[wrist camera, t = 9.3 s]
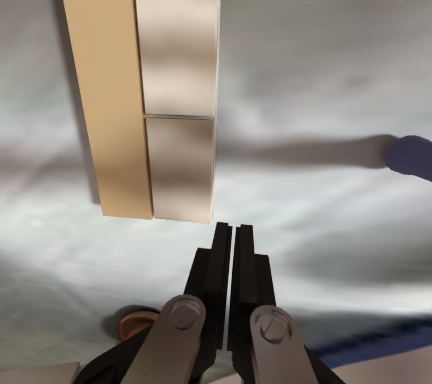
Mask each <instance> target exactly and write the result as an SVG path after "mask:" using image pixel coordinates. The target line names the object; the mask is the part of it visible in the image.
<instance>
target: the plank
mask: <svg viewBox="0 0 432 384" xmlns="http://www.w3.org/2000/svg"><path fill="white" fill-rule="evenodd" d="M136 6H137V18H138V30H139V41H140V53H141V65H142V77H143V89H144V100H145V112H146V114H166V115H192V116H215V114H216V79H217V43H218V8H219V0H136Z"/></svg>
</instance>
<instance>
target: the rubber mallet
mask: <svg viewBox="0 0 432 384" xmlns="http://www.w3.org/2000/svg"><path fill="white" fill-rule="evenodd" d="M384 157H385V161H386V165H387V166H388V167H389V168H390V169H391V170H393V171H396V172H399V173H401V174H407V175H415V176H418V177H420V178H423V179H426V180H428V181H431V182H432V142H431V141H430V140H428V139H425V138H422V137H419V136H415V135H412V136H405V137H402V138H400V139H398V140H396V141H394V142H392V143H391V144H390V145H389V146H388V147H387V148H386V151H385V153H384Z"/></svg>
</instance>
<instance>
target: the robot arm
mask: <svg viewBox="0 0 432 384" xmlns="http://www.w3.org/2000/svg"><path fill="white" fill-rule="evenodd" d="M232 227H233V226H228V223H223V222H217V225H216V229H215V234H214V239H213V243H212V248H211V249H205V248H198V249H197V251H196V254H195V258H194V261H193V264H192V267H191V271H190V274H189V277H188V280H187V283H186V287H185V290H184V293H183V295H178V296H176V297H174V298H172V299H171V300H169V301H168V302H167V303H166V304H165V306H164V307H163V309H162V311H161V312H160V314H159V316H158V318H157V319H156V321H155V322H154V323H153V324H151V325H150V326H148V327H146V328H145V329H143V330H141V331H140V332H138V333H136V334H135V335H133V336H131V337H130V338H128V339H126V340H125V341H123V342H121V343H120V344H118V345H116V346H115V347H113V348H112V349H110V350H108V351H107V352H105V353H103V354H102V355H100V356H98V357H97V358H95V359H94V360H92V361H91V362H90V363H88V364H86V365H80V364H79V362H73V363H64V364H55V365H46V366H37V367H28V368H19V369H12V370H8V371H5V372H2V373H0V384H202V381H203V377H204V372H205V371H206V370H207V369H208V368H209V367H211V366H212V365H213V364H214V362H215V359H216V350H217V349H220V350H222V345H223V334H224V322H225V311H226V299H227V287H228V276H229V264H230V252H231V240H232ZM227 351H232V362H233V367H234V369H235V370H236V371H237V373H238V374H239V375H240V377H241V384H345V383H344V382H343V381H342V380H341V379H340V378H339V377H338V376H337V375H336V374H335V373H334V372H333V371H332V370H330V369H329V368H328V367H327V366H326V365H325V364H324V363H323V362H322V361H321V360H320V359H319V358H318V357H317V356H315V355H314V354H313V353H312V352H311V351H310V350H309V349H308V348H307V347H306V346H305V345H304V344H303V342H302V340H301V337H300V334H299V332H298V329H297V326H296V324H295V322H294V321H293V319H292V318H291V316H290V315H289V314H288V313H287V312H285V311H284V310H282V309H281V308H278V307H276V301H275V295H274V288H273V282H272V275H271V269H270V263H269V257H268V255H261V254H254V240H253V226H252V225H244V224H241V227H236V235H235V246H234V257H233V268H232V280H231V295H230V310H229V325H228V339H227Z"/></svg>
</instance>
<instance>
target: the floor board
mask: <svg viewBox="0 0 432 384" xmlns="http://www.w3.org/2000/svg"><path fill="white" fill-rule="evenodd" d="M63 1H64V7H65V12H66V18H67V23H68V29H69V34H70V39H71V45H72V50H73V56H74V61H75V67H76V72H77V77H78V83H79V88H80V94H81V99H82V105H83V110H84V115H85V121H86V126H87V132H88V137H89V143H90V148H91V153H92V159H93V164H94V170H95V175H96V181H97V186H98V192H99V197H100V202H101V208H102V213H103V216H114V217H126V218H138V219H149V220H151V219H152V218H153V217H154V207H153V195H152V183H151V171H150V159H149V148H148V136H147V124H146V118H149V117H165V118H189V119H213V120H215V154H214V189H213V214H214V195H215V162H216V130H217V97H218V65H219V32H220V0H219V8H218V43H217V79H216V114H215V116H192V115H166V114H146V112H145V100H144V89H143V77H142V65H141V53H140V41H139V30H138V18H137V6H136V0H63ZM212 218H213V217H212Z"/></svg>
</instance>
